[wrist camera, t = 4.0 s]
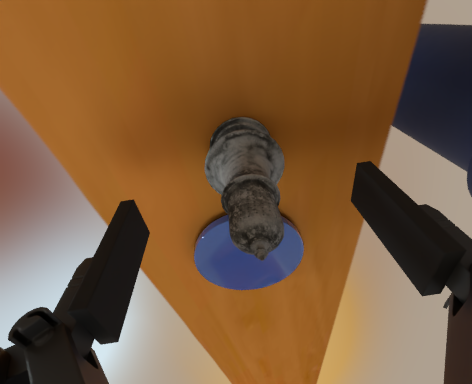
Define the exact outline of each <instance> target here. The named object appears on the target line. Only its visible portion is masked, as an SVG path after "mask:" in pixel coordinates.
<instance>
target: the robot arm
mask: <svg viewBox="0 0 472 384" xmlns="http://www.w3.org/2000/svg"><path fill="white" fill-rule="evenodd" d="M351 202H352V203H353V204H354V206H355V207H356V208H357V210H358V211H359V212H360V214H361V215H362V216H363V218H364V219H365V220H366V221H367V223H368V224H369V226H370V227H371V228H372V230H373V231H374V232H375V234H376V235H377V236H378V238H379V239H380V240H381V242H382V243H383V244H384V246H385V247H386V248H387V250H388V251H389V252H390V254H391V255H392V256H393V258H394V259H395V260H396V262H397V263H398V265H399V266H400V267H401V268H402V270H403V271H404V272H405V274H406V275H407V277H408V278H409V279H410V280H411V282H412V283H413V284H414V286H415V287H416V289H417V290H418V291H419V293H420V294H421V295H422V296H427V295H434V294H440V293H441V292H442V290H443V288H444V287H445V285H446V286H447V287H448V288H449V289H450V290H451V291H452V293H451V295H450V297H449V298H448V299H447V301H446V302H445V304H444V308H446V309H447V307H448V306H449V314H448V328H447V329H448V330H447V343H446V358H445V372H444V384H472V239H471V238H469V237H468V236H467V235H466V234H465V233H464V232H463V231H462V230H460V229H459V228H458V227H457V226H455V224H453V223H452V222H451V221H450V220H448V219H447V218H446V217H445V216H444V215H443V214H442V213H441V212H440V211H438V210H436V209H434V208H432V207H430V206H429V205H426V204H424V205H417V204H416V203H415V202H414V201H413V200H412V199H411V198H410V197H409V196H408V195H407V194H405V193H404V192H403V191H402V190H401V189H400V188H399V187H398V186H397V185H396V184H395V183H393V182H392V181H391V180H390V179H389V178H388V177H387V176H386V175H385V174H384V173H383V172H382V171H380V170H379V169H378V168H377V167H376V166H375V165H374V164H373V163H372V162H371V161H368V162H362V163H357V166H356V172H355V178H354V184H353V190H352V196H351ZM149 234H150V232H149V230H148V228H147V226H146V224H145V222H144V220H143V218H142V216H141V214H140V212H139V210H138V208H137V205H136V203H135V201H134V200H128V201H121V202H120V204H119V206H118V208H117V210H116V212H115V214H114V216H113V218H112V220H111V222H110V224H109V226H108V228H107V231H106V233H105V235H104V237H103V239H102V241H101V243H100V245H99V247H98V249H97V251H96V253H95V255H94V257H92V258H86V259H85V260H84V261H83V262H82V263H81V264H80V265H79V266H78V268H77V269H76V271H75V273H74V275H73V276H72V279H71V280H70V282H69V284H68V287H67V288H66V289H65V291H64V293H63V295H62V297H61V299H60V301H59V303H58V304H57V306H56V308H55V310H54V312H53V313H52V312H51V311H50V310H49V309H48V308H44V307H40V308H36V309H33V310H31V311H29V312H28V313H26V314H25V315H24V316H22V317H21V318H20V319H19V320H18V321H17V322H16V323H15V325H14V326H13V327H12V329H11V331H10V332H9V336H8V340H9V341H11V342H12V343H14V344H15V345H13V346H11V347H9V348H7V349H2V348H1V347H0V384H109V383H108V381H107V378H106V376H105V374H104V371H103V369H102V367H101V365H100V363H99V360H98V358H97V356H96V354H95V351H94V350H93V349H92V348H91V347H92V343H93V341H94V339H96V340H97V341H98V342H99V343H100V344H108V343H114V342H118V341H119V337H120V333H121V330H122V327H123V323H124V320H125V316H126V313H127V309H128V306H129V303H130V299H131V296H132V292H133V289H134V285H135V282H136V279H137V275H138V271H139V268H140V265H141V261H142V258H143V254H144V251H145V248H146V244H147V241H148V237H149Z"/></svg>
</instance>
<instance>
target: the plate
mask: <svg viewBox="0 0 472 384" xmlns="http://www.w3.org/2000/svg"><path fill="white" fill-rule="evenodd" d="M281 218H282V221H283V224H284V237H283V240H282V241H281V243H280V244H279V245H278V247H277V248H275V249H274V250H273V251H271V252H269V253H268V256H267V257H266V259H264V261H261V260H259V259H258V258H256V257H255V256H254V255H251V254H247V253H245V252H243V251H241V250H239V249H238V248H237V247H236V246H235V245H234V244H233V242H232V240H231V237H230V233H229V217H228V215H225V216H223V217H221V218H219V219H217V220H215V221H213V222H212V223H211V224H209V225H208V226H207V227H206V228H205V229H204V230H203V231H202V233H201V234H200V235H199V237H198V239H197V242H196V245H195V252H194V261H195V264H196V267H197V269H198V271H199V272H200V273H201V275H202V276H203V277H204V278H206V279H207V280H208V281H210V282H212V283H213V284H216V285H218V286H221V287H224V288H228V289H235V290H251V289H258V288H263V287H267V286H270V285H272V284H275V283H277V282H279V281H281V280H283V279H284V278H286V277H287V276H289V275H290V274H291V273H292V272H293V271H294V270H295V269H296V268H297V266H298V265H299V264H300V262H301V260H302V256H303V251H304V246H303V241H302V238H301V236H300V233H299V231H298V230H297V228H296V227H295V226H294V225H293V224H292V223H291V222H290V221H289V220H287V219H286V218H284V217H282V216H281Z"/></svg>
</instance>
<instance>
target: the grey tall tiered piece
mask: <svg viewBox="0 0 472 384" xmlns="http://www.w3.org/2000/svg"><path fill="white" fill-rule="evenodd" d="M283 170H284V156H283V153H282V150H281V148H280V146H279V145H278V144H277V142H276V141H275V140H274V139H272V138H271V137H270V134H269V132H268V131H267V129H266V128H265V126H264V125H262V124H261V123H260V122H258V121H257V120H254V119H251V118H247V117H237V118H232V119H230V120H227V121H225V122H224V123H222V124H221V125H220V126H219V127H218V128H217V129H216V130H215V132H214V133H213V135H212V138H211V141H210V150H209V151H208V154H207V157H206V159H205V173H206V177H207V180H208V182H209V183H210V185H211V187H212V188H214V189H215V190H216V191H217V192H218V193H219V194H221V195H222V196H221V203H222V207H223V209H224V210H225V212H226V213H227V214H228V217H229V233H230V237H231V240H232V242H233V244H234V245H235V246H236V247H237V248H238V249H239V250H241V251H243V252H245V253H247V254H251V255H254V256H255V257H256V258H258V259H259V260H261V261H264V259H266V257H267V256H268V253H269V252H271V251H273V250H274V249H275V248H277V247H278V245H279V244H280V243H281V241H282V240H283V237H284V224H283V221H282V218H281V215H280V212H279V209H278V205H279V202H280V191H279V189H278V186H277V183H278V182H279V180H280V178H281V177H282V174H283Z"/></svg>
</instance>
